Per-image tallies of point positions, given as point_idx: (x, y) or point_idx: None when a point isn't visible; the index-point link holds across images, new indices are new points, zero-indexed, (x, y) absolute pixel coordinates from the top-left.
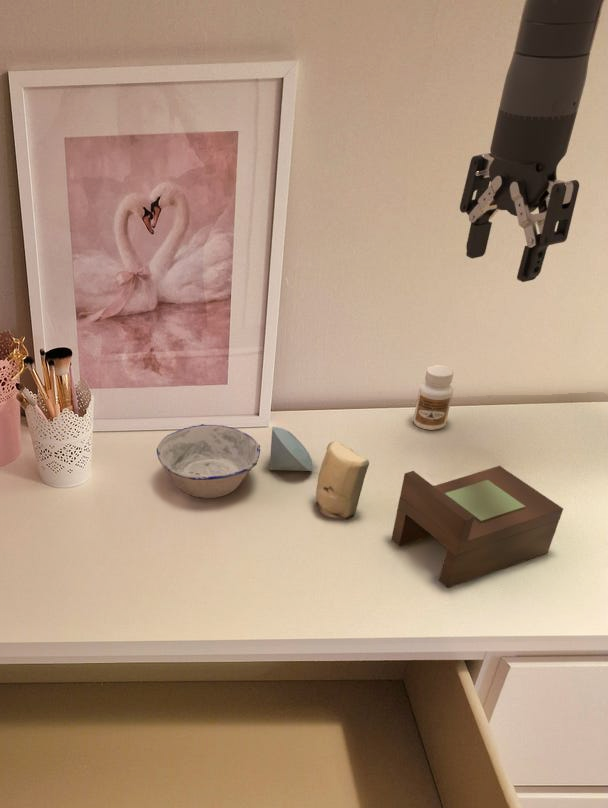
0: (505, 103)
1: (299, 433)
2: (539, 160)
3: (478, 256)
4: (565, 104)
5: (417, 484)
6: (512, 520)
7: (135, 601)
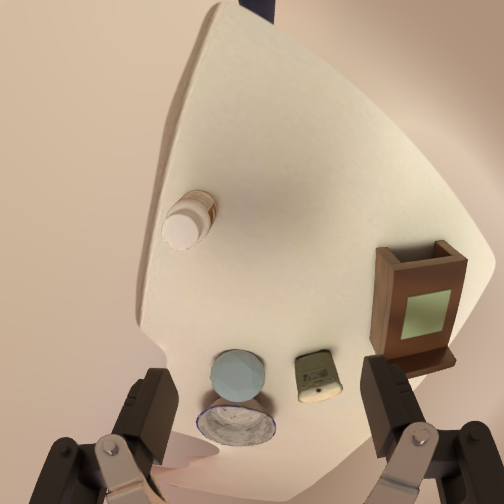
0: None
1: (183, 335)
2: None
3: (172, 380)
4: None
5: None
6: (454, 307)
7: (335, 447)
